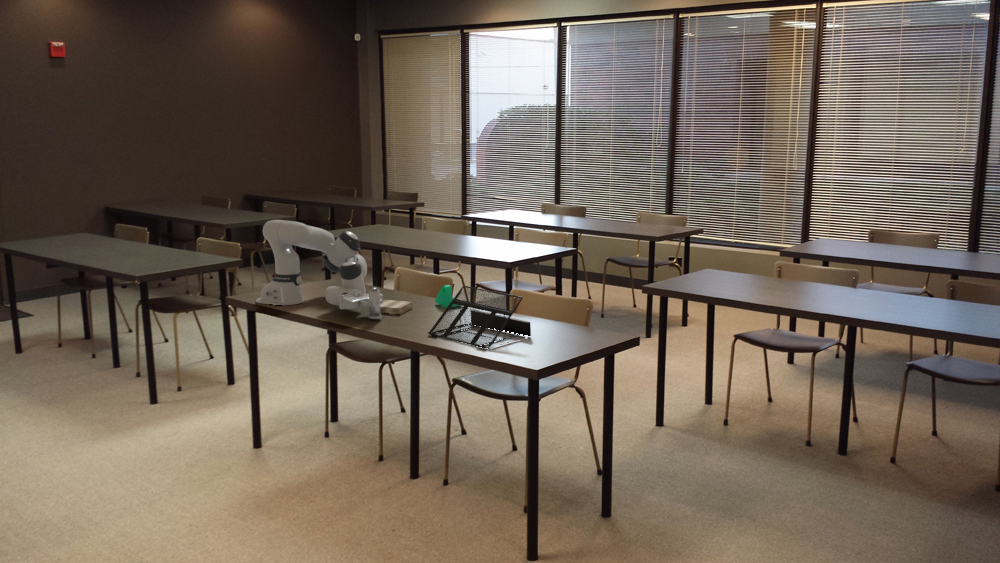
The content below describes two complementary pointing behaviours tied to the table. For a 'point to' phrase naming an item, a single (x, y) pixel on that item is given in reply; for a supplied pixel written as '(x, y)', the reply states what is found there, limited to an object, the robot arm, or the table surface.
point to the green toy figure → (445, 296)
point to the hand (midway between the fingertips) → (376, 303)
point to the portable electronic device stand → (481, 318)
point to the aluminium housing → (374, 304)
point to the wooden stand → (395, 306)
